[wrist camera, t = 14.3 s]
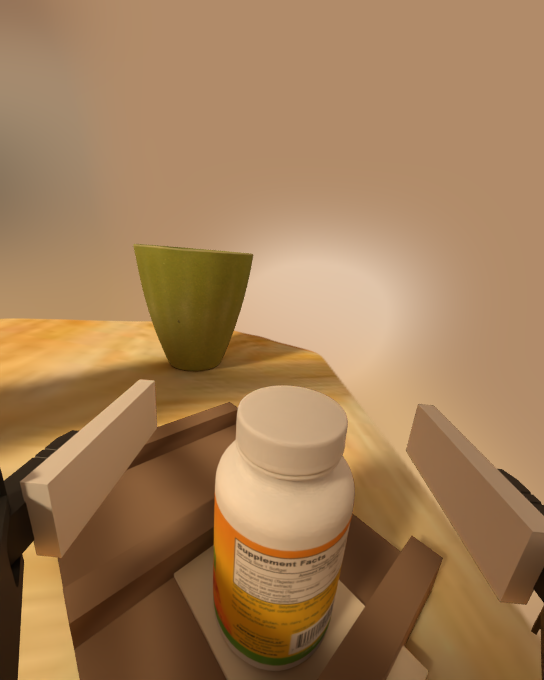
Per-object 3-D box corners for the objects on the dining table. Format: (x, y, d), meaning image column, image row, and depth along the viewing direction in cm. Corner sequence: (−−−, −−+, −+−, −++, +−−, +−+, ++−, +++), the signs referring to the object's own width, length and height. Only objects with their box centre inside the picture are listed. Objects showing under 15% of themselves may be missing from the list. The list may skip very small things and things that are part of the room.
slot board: (190, 1282, 5) (189, 1290, 4) (46, 497, 18) (41, 467, 17) (453, 608, 14) (465, 575, 13) (228, 422, 27) (229, 401, 27)
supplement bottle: (235, 526, 16) (243, 369, 13) (330, 551, 15) (361, 388, 12) (190, 652, 11) (187, 439, 8) (330, 700, 10) (382, 479, 7)
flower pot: (264, 357, 45) (271, 254, 40) (206, 395, 32) (208, 249, 27) (190, 340, 51) (189, 248, 46) (116, 366, 38) (104, 241, 33)
